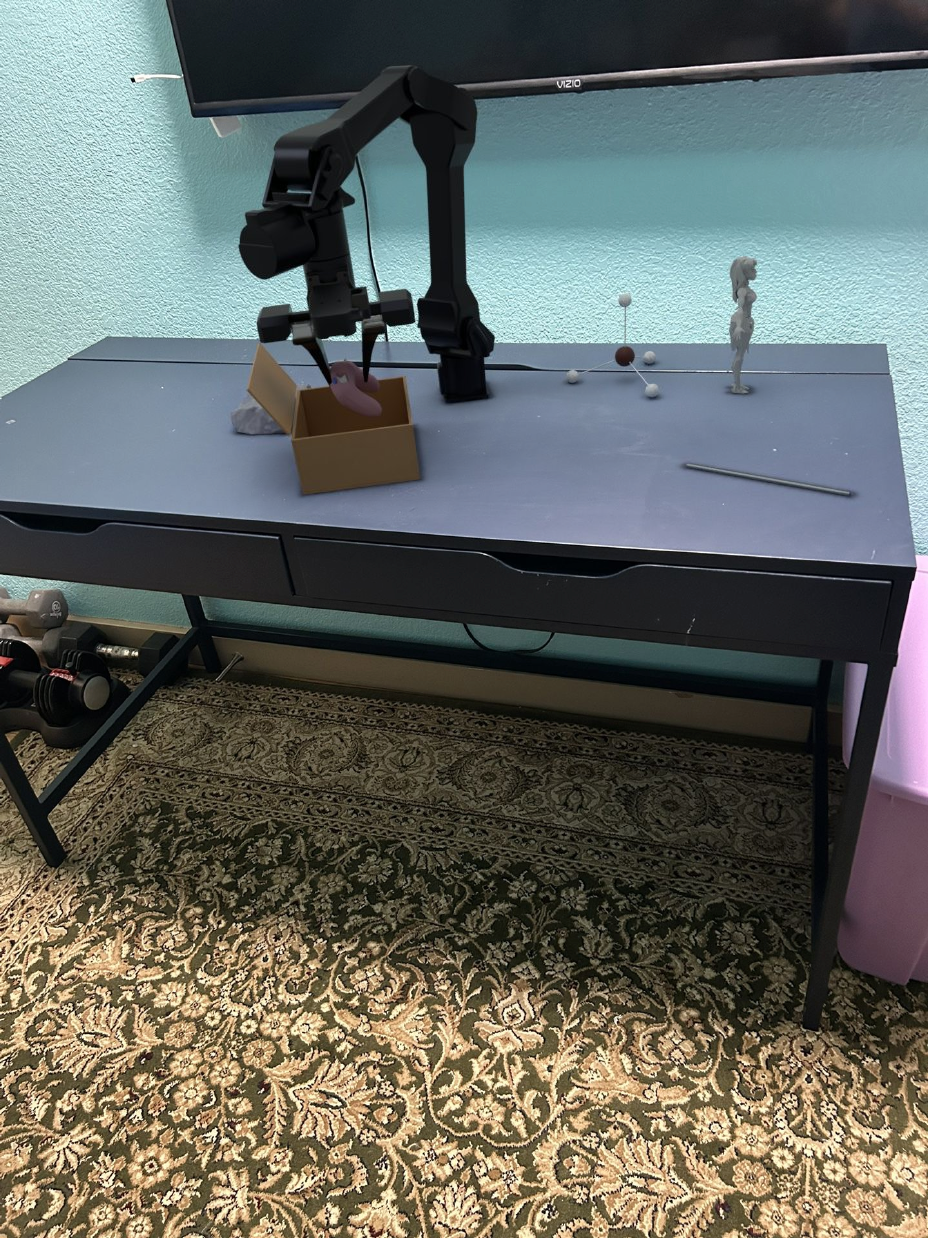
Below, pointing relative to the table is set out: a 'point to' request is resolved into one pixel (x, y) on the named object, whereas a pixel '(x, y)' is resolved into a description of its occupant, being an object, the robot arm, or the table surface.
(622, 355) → the molecular model
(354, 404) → the video game controller
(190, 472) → the table surface
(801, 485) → the rod
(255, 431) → the stone block
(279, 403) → the flap
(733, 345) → the human figurine
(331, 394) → the carton
